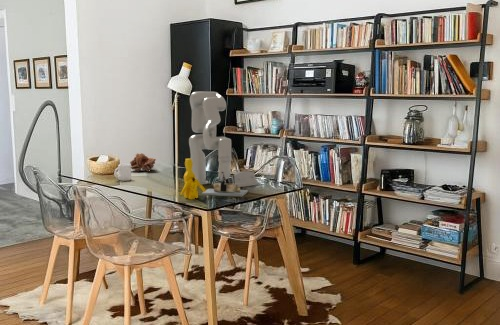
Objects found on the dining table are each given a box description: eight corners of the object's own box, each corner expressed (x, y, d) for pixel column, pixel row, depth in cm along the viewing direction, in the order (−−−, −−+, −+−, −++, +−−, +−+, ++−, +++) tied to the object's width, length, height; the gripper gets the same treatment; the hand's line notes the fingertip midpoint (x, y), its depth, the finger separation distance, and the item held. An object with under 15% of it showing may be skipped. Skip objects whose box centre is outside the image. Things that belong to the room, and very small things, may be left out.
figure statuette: (182, 201, 281) (181, 161, 279) (174, 199, 287) (173, 159, 284) (208, 196, 293) (207, 158, 290) (199, 195, 299) (199, 157, 296)
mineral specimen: (131, 174, 400) (127, 155, 400) (157, 169, 404) (153, 150, 404) (131, 175, 379) (127, 155, 379) (158, 170, 383) (154, 150, 383)
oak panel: (213, 191, 302) (213, 184, 301) (216, 189, 308) (216, 182, 307) (233, 192, 299) (233, 185, 299) (236, 190, 305) (236, 183, 304)
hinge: (237, 187, 323) (234, 171, 325) (233, 188, 327) (230, 173, 329) (258, 184, 333) (255, 169, 335) (254, 186, 337) (251, 171, 338)
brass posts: (227, 191, 302) (227, 187, 302) (228, 191, 304) (228, 187, 304) (239, 192, 300) (239, 188, 300) (240, 191, 302) (240, 187, 302)
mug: (117, 182, 343) (117, 166, 342) (111, 180, 349) (110, 165, 348) (133, 179, 351) (133, 164, 350) (127, 178, 357) (126, 163, 356)
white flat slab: (202, 194, 300) (201, 192, 300) (208, 190, 312) (208, 188, 312) (242, 196, 295) (242, 194, 294) (247, 192, 307) (247, 190, 307)
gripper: (222, 157, 310) (223, 187, 312) (214, 161, 293) (214, 192, 296) (235, 157, 308) (235, 187, 311) (227, 161, 292) (227, 193, 294)
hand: (225, 189), depth 303 cm, fingers closed on oak panel, 6 cm apart
